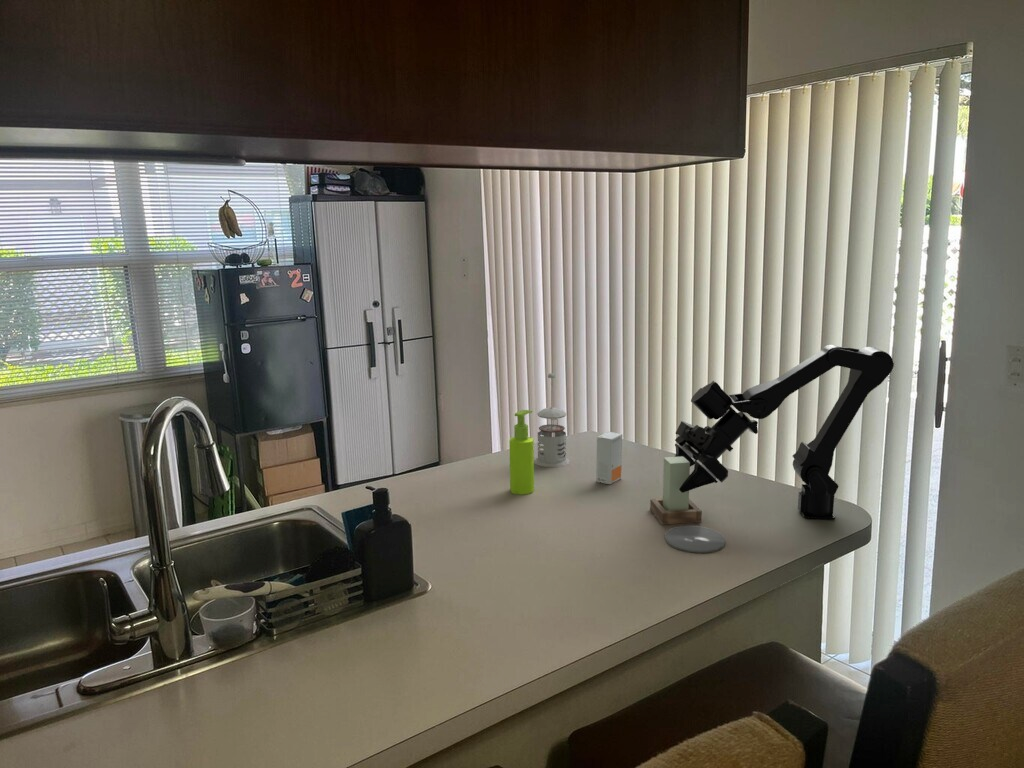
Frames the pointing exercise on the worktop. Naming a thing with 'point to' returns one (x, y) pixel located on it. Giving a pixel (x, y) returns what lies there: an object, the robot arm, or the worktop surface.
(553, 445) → the french press
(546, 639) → the worktop surface
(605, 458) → the skincare box
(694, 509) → the walnut holder
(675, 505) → the sage peg
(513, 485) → the soap dispenser
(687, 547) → the slate coaster
